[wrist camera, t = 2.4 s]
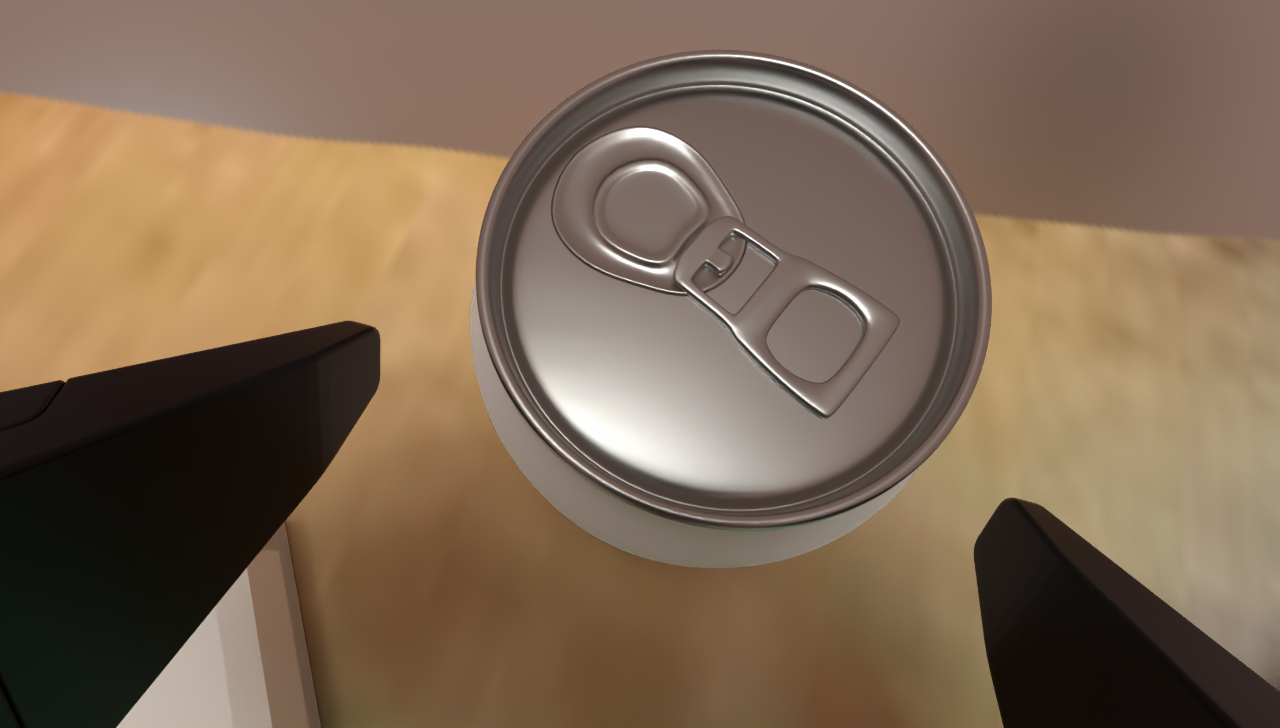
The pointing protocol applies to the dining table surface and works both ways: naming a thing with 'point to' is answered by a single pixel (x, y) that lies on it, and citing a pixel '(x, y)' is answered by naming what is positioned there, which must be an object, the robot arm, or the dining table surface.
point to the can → (726, 307)
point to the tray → (240, 659)
